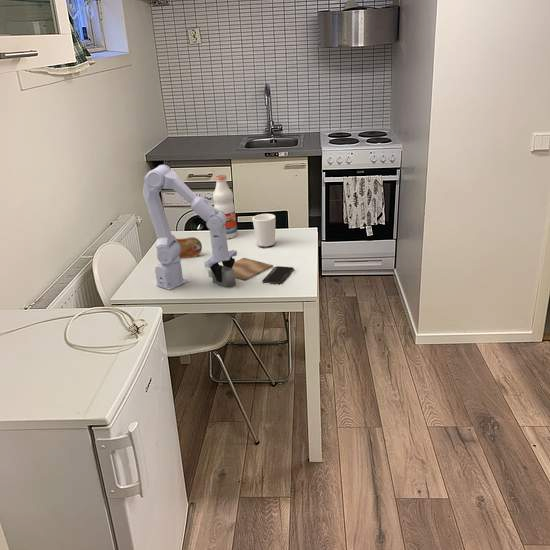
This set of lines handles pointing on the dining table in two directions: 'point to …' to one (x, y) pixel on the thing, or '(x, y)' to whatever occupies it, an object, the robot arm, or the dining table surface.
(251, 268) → the board
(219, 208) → the fruit juice
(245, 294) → the dining table surface
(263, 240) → the cup
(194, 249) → the tin
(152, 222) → the robot arm
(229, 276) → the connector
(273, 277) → the phone
